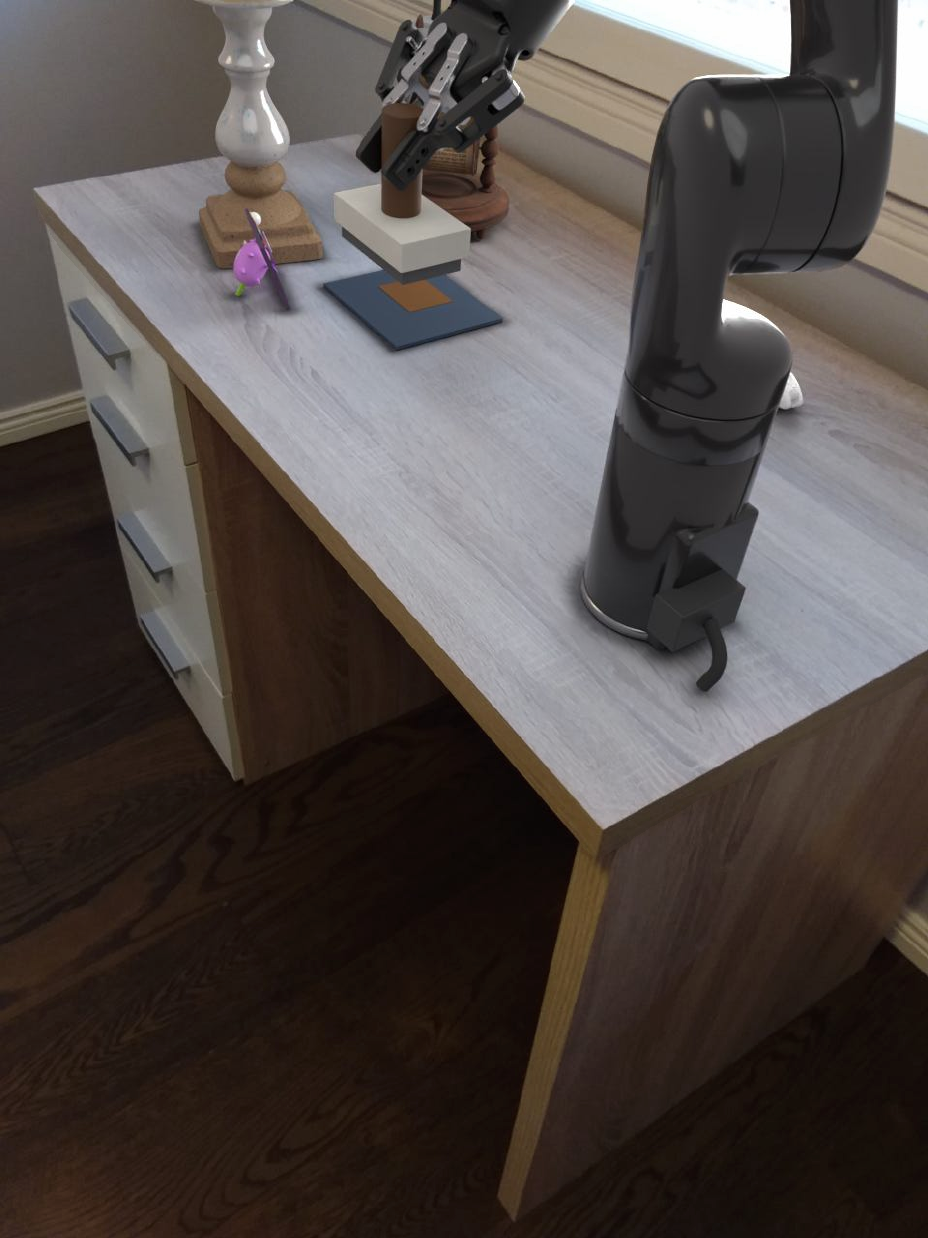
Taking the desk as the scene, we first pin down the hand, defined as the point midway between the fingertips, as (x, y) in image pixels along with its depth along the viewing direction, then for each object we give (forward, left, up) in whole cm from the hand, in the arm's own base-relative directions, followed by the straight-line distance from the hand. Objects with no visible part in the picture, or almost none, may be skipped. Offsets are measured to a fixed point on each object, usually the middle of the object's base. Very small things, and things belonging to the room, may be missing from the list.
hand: (378, 172), depth 74 cm
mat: (+14, -12, -19) cm, 26 cm away
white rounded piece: (-15, -32, -19) cm, 40 cm away
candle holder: (+33, -5, -19) cm, 38 cm away
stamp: (0, -2, -6) cm, 7 cm away
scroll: (+30, -26, -19) cm, 44 cm away
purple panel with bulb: (+23, 0, -19) cm, 30 cm away
